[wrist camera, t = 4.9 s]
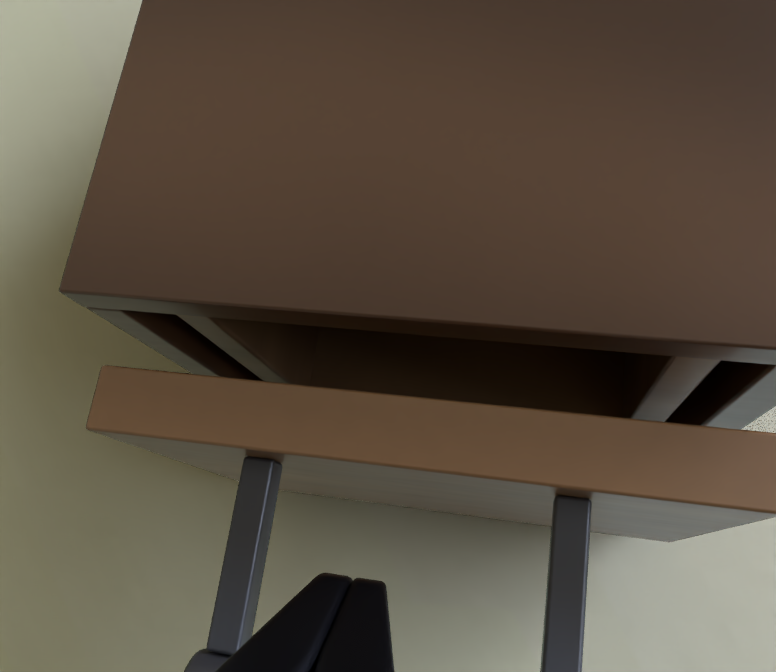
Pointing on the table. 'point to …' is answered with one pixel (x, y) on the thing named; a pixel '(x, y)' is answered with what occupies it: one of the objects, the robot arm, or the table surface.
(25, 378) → the table surface
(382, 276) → the cabinet
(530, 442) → the drawer
